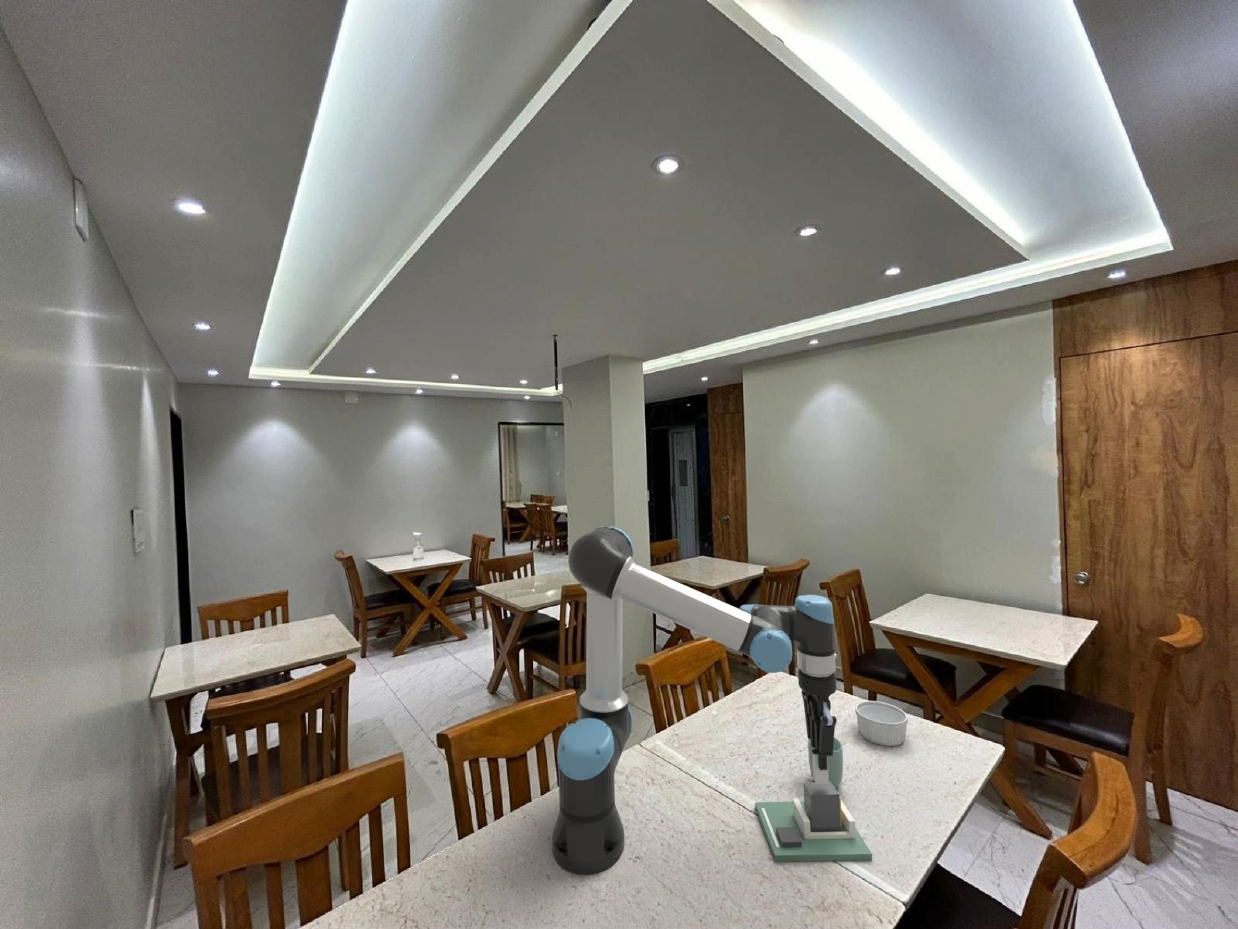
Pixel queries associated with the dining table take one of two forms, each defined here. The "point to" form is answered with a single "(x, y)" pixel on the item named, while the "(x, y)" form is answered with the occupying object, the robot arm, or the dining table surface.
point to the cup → (831, 762)
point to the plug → (822, 807)
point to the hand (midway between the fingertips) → (820, 781)
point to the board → (808, 835)
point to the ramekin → (881, 722)
